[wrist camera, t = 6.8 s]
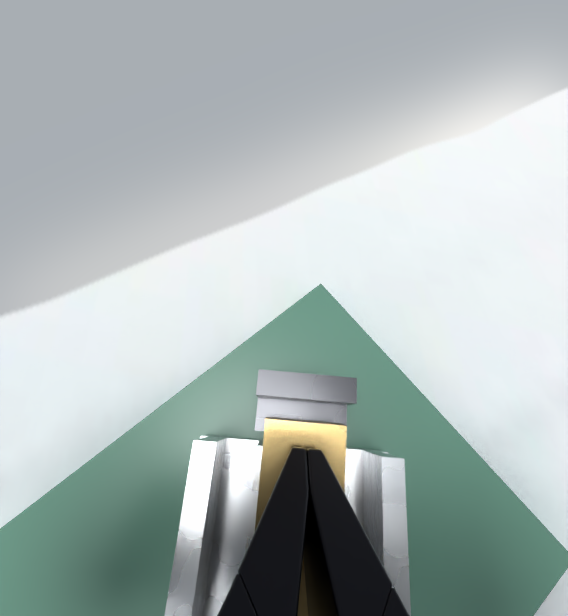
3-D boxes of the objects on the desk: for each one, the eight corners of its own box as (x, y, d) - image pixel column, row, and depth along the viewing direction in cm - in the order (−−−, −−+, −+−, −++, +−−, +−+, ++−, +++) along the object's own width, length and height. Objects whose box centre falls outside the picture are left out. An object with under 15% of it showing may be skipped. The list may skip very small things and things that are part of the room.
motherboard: (554, 549, 14) (574, 558, 13) (170, 1064, 9) (158, 1136, 8) (318, 290, 18) (320, 283, 17) (-37, 563, 13) (-60, 574, 12)
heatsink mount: (386, 747, 11) (476, 1010, 6) (160, 727, 11) (69, 974, 6) (379, 395, 15) (430, 384, 10) (213, 381, 15) (185, 362, 10)
